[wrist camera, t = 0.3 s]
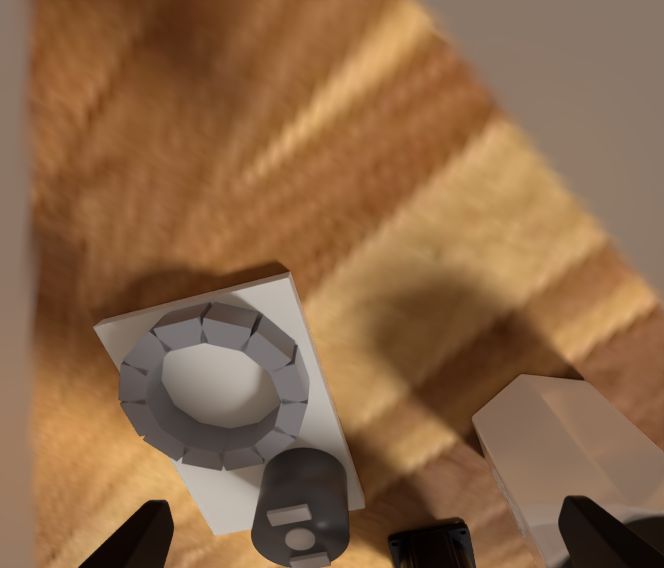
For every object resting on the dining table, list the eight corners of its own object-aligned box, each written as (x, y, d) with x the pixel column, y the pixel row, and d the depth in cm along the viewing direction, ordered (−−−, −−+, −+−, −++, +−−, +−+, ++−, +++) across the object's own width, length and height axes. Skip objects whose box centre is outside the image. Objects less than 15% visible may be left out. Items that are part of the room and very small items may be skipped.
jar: (458, 392, 24) (571, 613, 13) (582, 351, 23) (829, 555, 11) (489, 481, 27) (603, 723, 16) (600, 449, 26) (808, 686, 14)
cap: (355, 500, 26) (360, 563, 22) (278, 514, 27) (268, 579, 23) (334, 439, 24) (335, 498, 20) (251, 457, 24) (235, 517, 20)
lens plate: (364, 495, 27) (367, 535, 24) (218, 523, 28) (206, 564, 26) (290, 271, 20) (283, 291, 18) (103, 319, 22) (69, 345, 19)
